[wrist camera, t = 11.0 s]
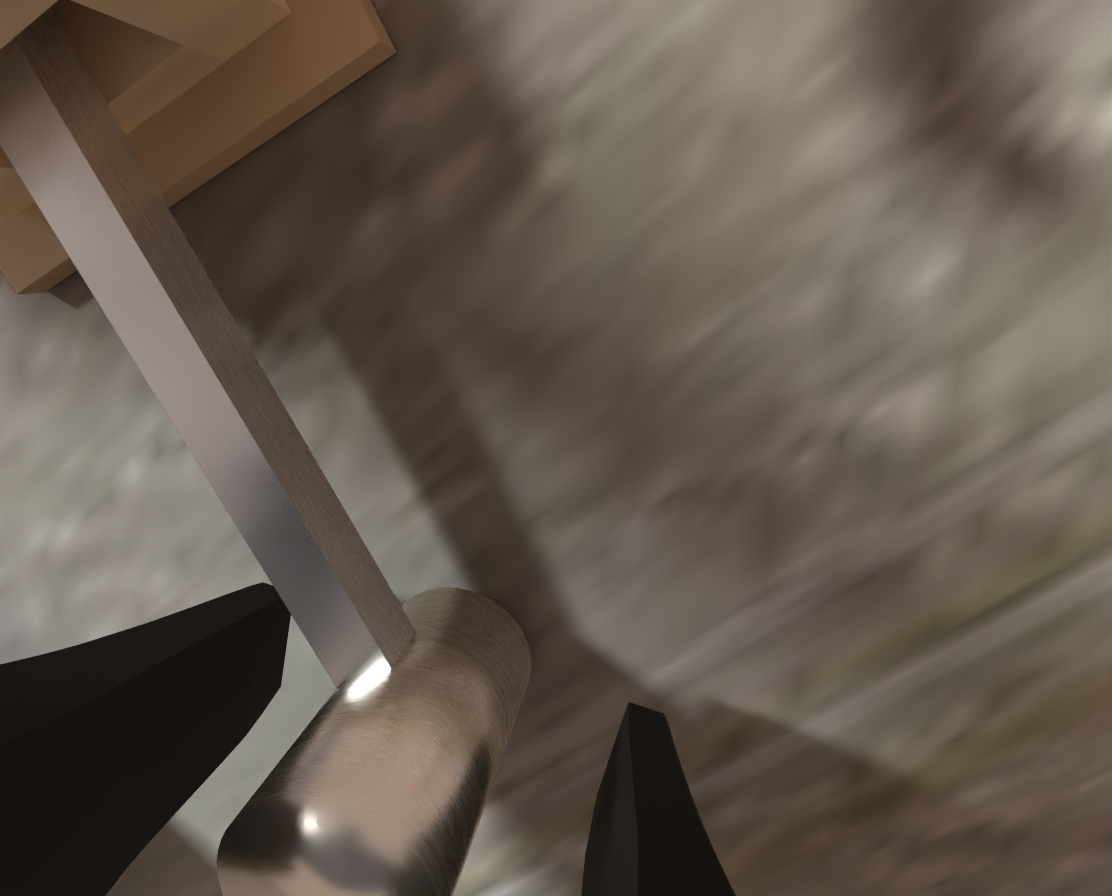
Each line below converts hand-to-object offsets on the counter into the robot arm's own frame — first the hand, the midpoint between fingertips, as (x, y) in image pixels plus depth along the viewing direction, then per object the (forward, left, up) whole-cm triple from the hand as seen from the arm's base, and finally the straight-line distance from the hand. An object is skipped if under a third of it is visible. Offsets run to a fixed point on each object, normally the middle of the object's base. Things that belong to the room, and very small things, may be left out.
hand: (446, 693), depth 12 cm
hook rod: (-6, 0, -1) cm, 6 cm away
